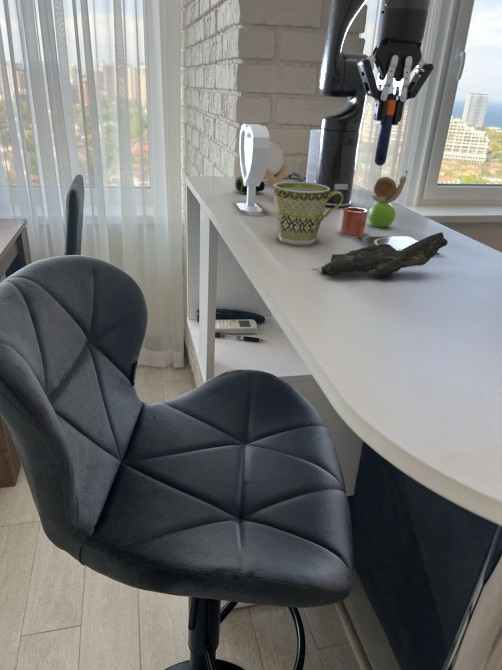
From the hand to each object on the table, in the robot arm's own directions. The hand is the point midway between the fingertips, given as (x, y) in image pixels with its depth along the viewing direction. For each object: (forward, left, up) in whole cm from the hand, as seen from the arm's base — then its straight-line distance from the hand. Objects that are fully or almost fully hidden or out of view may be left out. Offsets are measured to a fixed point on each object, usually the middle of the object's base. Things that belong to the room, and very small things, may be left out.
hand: (386, 124), depth 89 cm
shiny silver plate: (+6, +3, -21) cm, 22 cm away
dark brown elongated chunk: (+20, -7, -21) cm, 30 cm away
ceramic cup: (+1, -13, -21) cm, 25 cm away
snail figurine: (-8, +7, -21) cm, 23 cm away
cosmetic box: (-55, +11, -21) cm, 60 cm away
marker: (0, 0, -7) cm, 7 cm away
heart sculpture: (-26, -18, -21) cm, 38 cm away
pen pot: (-3, -2, -21) cm, 21 cm away
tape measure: (-46, -13, -21) cm, 52 cm away
